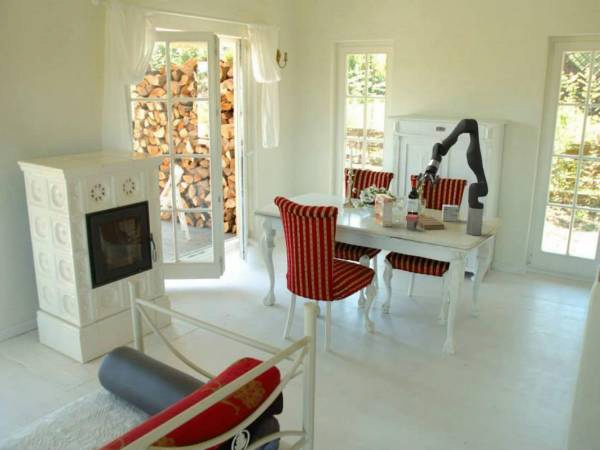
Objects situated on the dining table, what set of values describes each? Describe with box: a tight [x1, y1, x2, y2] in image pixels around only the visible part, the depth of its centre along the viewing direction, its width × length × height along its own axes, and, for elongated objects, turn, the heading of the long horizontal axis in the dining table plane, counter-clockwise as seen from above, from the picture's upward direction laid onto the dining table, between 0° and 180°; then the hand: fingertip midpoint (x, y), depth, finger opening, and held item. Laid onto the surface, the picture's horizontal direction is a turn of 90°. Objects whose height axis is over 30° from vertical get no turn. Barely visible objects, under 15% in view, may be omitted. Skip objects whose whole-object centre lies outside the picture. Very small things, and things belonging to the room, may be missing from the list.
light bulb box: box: [441, 204, 460, 223], centre depth 401 cm, size 11×7×11 cm, turn 84°
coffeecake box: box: [373, 193, 394, 228], centre depth 386 cm, size 15×7×20 cm, turn 14°
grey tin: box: [406, 220, 418, 231], centre depth 375 cm, size 5×5×8 cm
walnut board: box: [417, 216, 445, 230], centre depth 387 cm, size 22×14×3 cm, turn 10°
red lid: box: [405, 213, 420, 222], centre depth 375 cm, size 6×6×3 cm
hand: (424, 187), depth 380 cm, fingers open, 8 cm apart
